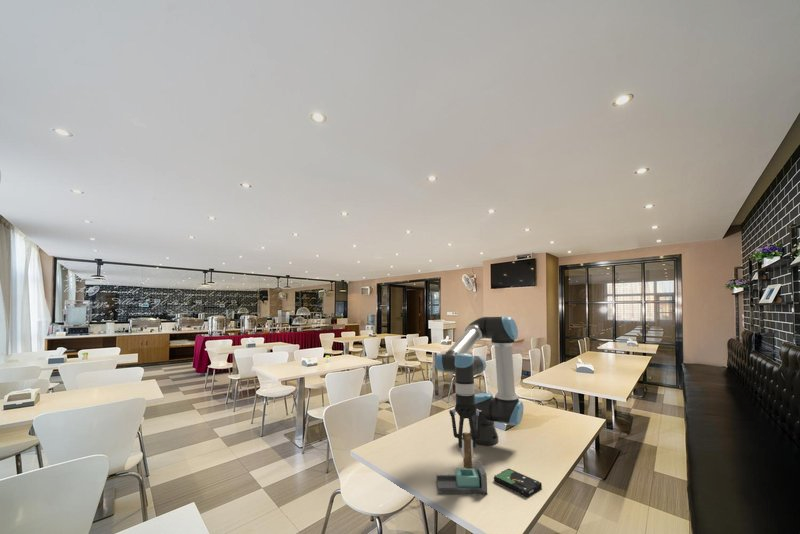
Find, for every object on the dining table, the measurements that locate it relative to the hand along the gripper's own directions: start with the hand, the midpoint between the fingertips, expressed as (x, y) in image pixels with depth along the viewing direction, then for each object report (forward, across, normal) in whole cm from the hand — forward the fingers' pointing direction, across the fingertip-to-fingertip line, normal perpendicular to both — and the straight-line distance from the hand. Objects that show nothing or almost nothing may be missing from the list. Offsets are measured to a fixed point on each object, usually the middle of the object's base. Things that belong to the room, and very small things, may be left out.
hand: (467, 456), depth 124 cm
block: (+10, 0, 0) cm, 10 cm away
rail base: (+11, +3, 0) cm, 11 cm away
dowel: (+4, 0, 0) cm, 4 cm away
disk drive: (+12, -19, -2) cm, 23 cm away
